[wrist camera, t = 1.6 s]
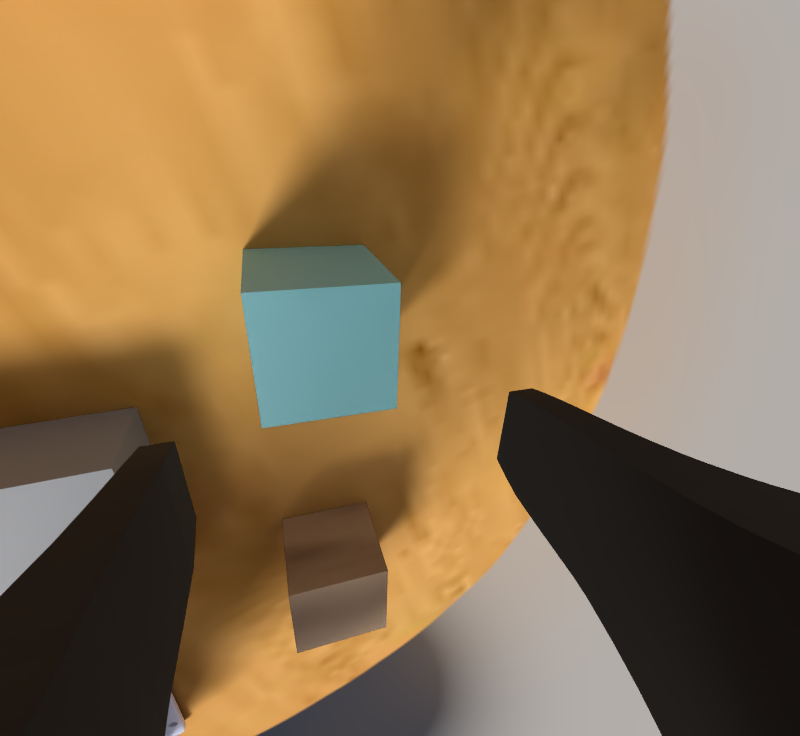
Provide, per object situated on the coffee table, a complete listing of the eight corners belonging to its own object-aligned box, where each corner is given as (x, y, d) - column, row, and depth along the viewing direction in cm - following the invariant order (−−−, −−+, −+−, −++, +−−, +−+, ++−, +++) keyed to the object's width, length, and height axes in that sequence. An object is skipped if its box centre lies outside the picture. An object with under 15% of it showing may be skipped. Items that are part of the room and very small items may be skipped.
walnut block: (366, 554, 26) (386, 627, 22) (290, 573, 24) (297, 653, 21) (365, 500, 24) (387, 571, 20) (282, 517, 22) (288, 596, 19)
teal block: (364, 346, 19) (396, 408, 15) (258, 357, 18) (261, 428, 14) (363, 244, 17) (401, 282, 13) (242, 248, 16) (241, 293, 11)
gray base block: (187, 535, 21) (176, 610, 18) (-4, 579, 19) (-57, 674, 16) (137, 403, 17) (111, 468, 14) (-110, 441, 15) (-209, 528, 12)
